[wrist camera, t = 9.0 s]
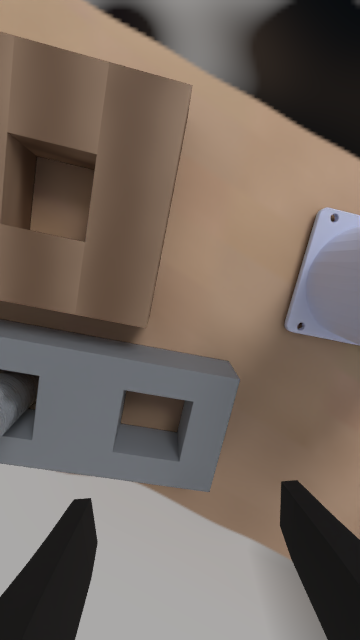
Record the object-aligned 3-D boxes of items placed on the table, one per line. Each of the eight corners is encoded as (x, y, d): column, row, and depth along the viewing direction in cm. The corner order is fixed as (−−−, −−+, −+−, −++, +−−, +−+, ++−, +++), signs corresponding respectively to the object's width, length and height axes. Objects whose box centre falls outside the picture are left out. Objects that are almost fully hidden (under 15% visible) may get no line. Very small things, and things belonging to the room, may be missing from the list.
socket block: (187, 117, 16) (192, 85, 13) (149, 317, 18) (146, 328, 15) (-31, 59, 15) (-80, 9, 12) (-41, 280, 17) (-84, 284, 14)
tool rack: (228, 361, 19) (240, 379, 16) (203, 459, 21) (209, 492, 18) (-43, 311, 17) (-85, 321, 14) (-48, 422, 19) (-86, 451, 16)
